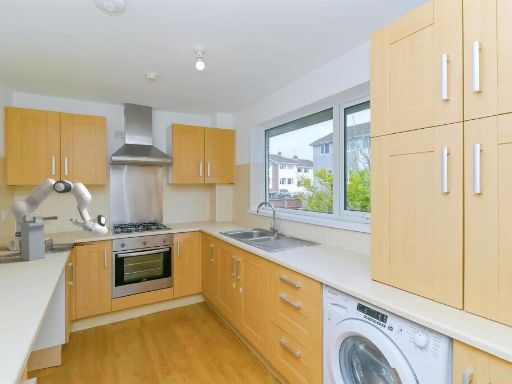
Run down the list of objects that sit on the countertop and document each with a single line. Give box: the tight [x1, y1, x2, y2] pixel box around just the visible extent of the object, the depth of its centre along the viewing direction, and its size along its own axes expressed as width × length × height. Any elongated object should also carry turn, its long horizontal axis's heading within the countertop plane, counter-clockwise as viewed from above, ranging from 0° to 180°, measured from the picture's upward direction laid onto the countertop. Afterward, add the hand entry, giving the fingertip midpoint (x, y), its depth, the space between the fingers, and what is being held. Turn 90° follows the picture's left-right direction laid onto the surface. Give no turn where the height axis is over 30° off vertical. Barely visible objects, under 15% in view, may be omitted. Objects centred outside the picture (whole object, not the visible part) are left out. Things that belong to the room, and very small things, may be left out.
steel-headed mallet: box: [23, 213, 59, 223], centre depth 202 cm, size 5×20×5 cm, turn 151°
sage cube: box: [33, 215, 43, 223], centre depth 195 cm, size 4×4×4 cm
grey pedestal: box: [17, 220, 50, 262], centre depth 198 cm, size 18×12×26 cm, turn 61°
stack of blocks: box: [18, 237, 54, 256], centre depth 216 cm, size 21×6×12 cm, turn 166°
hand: (73, 219), depth 221 cm, fingers open, 8 cm apart
